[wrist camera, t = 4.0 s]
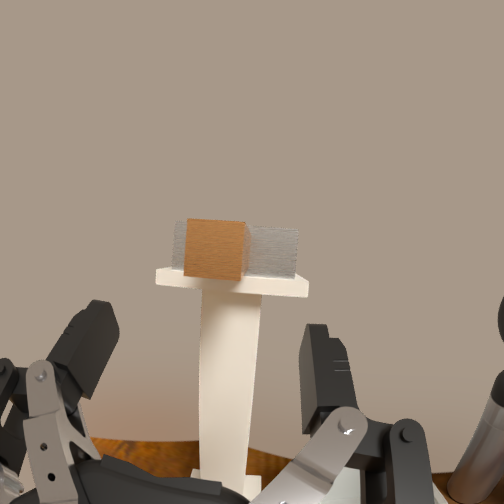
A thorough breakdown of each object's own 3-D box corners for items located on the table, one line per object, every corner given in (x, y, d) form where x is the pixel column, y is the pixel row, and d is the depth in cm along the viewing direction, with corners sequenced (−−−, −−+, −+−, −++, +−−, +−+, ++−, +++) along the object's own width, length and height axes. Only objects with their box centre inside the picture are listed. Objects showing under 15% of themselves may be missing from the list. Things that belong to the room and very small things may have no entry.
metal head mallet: (287, 273, 28) (290, 233, 28) (321, 302, 12) (328, 213, 12) (189, 265, 29) (192, 226, 29) (112, 282, 13) (118, 201, 13)
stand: (266, 482, 31) (294, 272, 31) (267, 529, 21) (310, 282, 21) (186, 473, 31) (186, 264, 31) (171, 518, 21) (154, 269, 21)
